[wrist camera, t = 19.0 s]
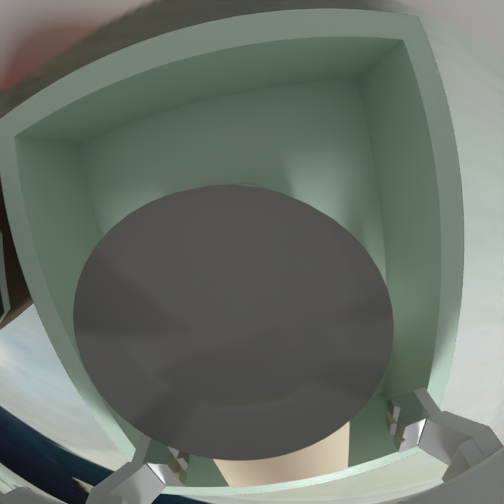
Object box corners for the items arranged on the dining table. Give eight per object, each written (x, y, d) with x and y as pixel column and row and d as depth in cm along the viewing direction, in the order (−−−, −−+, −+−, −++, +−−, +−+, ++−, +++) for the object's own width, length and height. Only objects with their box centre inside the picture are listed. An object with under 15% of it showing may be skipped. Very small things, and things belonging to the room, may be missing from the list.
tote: (364, 62, 10) (418, 16, 5) (393, 391, 15) (425, 448, 10) (67, 131, 11) (-5, 122, 6) (172, 431, 15) (157, 492, 11)
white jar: (163, 199, 11) (32, 241, 4) (292, 167, 11) (374, 150, 3) (198, 316, 12) (149, 463, 5) (316, 290, 12) (387, 428, 5)
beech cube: (317, 319, 13) (349, 393, 8) (325, 397, 14) (347, 469, 9) (208, 340, 13) (191, 419, 8) (234, 413, 14) (230, 487, 9)
